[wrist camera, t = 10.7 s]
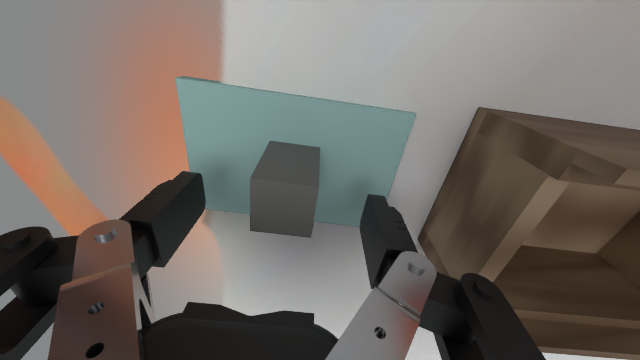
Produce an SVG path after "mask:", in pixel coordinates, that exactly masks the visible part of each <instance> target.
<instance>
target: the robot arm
mask: <svg viewBox="0 0 640 360" xmlns="http://www.w3.org/2000/svg"><path fill="white" fill-rule="evenodd" d="M205 204H206V199H205V191H204V184H203V177H202V175H201V174H200V173H195V172H186V171H182V172H181V173H180V174H179V175H178V176H176V177H175V178H174V179H173V180H168V181H167V182H164V183H162V184H160V185H158V186H157V187H156V188H154V189H153V190H152V191H151V192H150V194H148V195H147V196H145V197H144V199H143V200H141V201H140V202H138V203H137V204H136V205H135V206H134V207H133V208H132V209H130V210H129V211H128V212H127V213H126V214H125V215H124V216H122V217H121V218H120V219H119V220H108V221H104V222H100V223H97V224H95V225H93V226H91V227H89V228H87V229H86V230H84V231H83V232H82V233H81V234H80V235H79V236H70V237H60V238H53V237H52V235H51V233H50V232H49V230H48V229H46V228H44V227H26V228H21V229H17V230H14V231H11V232H8V233H5V234H3V235H1V236H0V296H1V295H2V294H3V293H5V292H6V291H7V290H8V289H9V288H10V289H11V290H12V291H13V292H14V293H15V295H16V297H15V298H14V299H13V300H12V301H11V302H10V303H9V304H7V305H6V306H5V307H4V308H3V309H2V310H1V311H0V360H20V359H21V358H22V357H23V356H24V355H25V354H26V353H27V352H28V351H29V349H30V348H31V347H32V346H33V345H34V344H35V343H36V342H37V341H38V339H39V338H40V337H41V336H42V335H43V334H44V333H45V332H46V330H47V329H48V328H49V327H50V326H51V324H53V323H54V325H53V331H52V337H51V343H50V349H49V355H48V360H405V357H406V355H407V352H408V350H409V348H410V345H411V343H412V340H413V338H414V335H415V333H416V330H417V328H418V326H420V327H422V328H424V329H427V330H429V331H431V332H433V333H434V336H435V340H436V343H437V346H438V349H439V352H440V355H441V358H442V360H546V359H545V358H544V356H543V355H542V353H541V352H540V350H539V348H538V347H537V345H536V344H535V342H534V341H533V339H532V338H531V336H530V335H529V333H528V331H527V330H526V328H525V327H524V325H523V324H522V322H521V321H520V319H519V318H518V316H517V315H516V313H515V311H514V310H513V308H512V307H511V305H510V304H509V302H508V301H507V299H506V298H505V296H504V294H503V293H502V292H501V290H500V289H499V288H498V287H497V286H496V285H495V284H494V283H493V282H491V281H490V280H488V279H487V278H485V277H483V276H481V275H478V274H475V273H465V274H463V275H462V277H461V278H460V280H458V279H455V278H452V277H450V276H447V275H444V274H441V273H439V272H437V271H436V269H435V267H434V265H433V264H432V263H431V262H430V261H429V260H428V259H427V258H426V257H424V256H423V255H421V254H419V253H418V251H417V249H416V247H415V245H414V242H413V240H412V238H411V236H410V233H409V231H408V230H407V227H406V224H404V220H403V218H402V215H401V214H400V213H399V212H398V211H397V210H396V209H395V208H394V207H389V206H388V203H387V201H386V198H385V196H382V195H373V194H368V196H367V199H366V202H365V206H364V209H363V213H362V216H361V220H360V233H361V238H362V243H363V249H364V254H365V259H366V264H367V270H368V275H369V280H370V285H371V289H373V290H372V292H371V293H370V294H369V296H368V297H367V299H366V300H365V302H364V303H363V305H362V306H361V308H360V309H359V311H358V312H357V314H356V315H355V317H354V318H353V319H352V321H351V322H350V324H349V325H348V327H347V328H346V330H345V331H344V333H343V334H342V336H341V337H340V339H337V338H336V337H335V336H334V335H333V334H332V333H330V332H329V331H328V330H326V329H324V328H323V327H321V326H319V325H316V324H314V313H304V312H293V311H279V312H273V313H267V314H261V315H255V316H248V315H245V314H242V313H240V312H237V311H235V310H232V309H229V308H227V307H224V306H222V305H216V304H205V303H194V302H188V303H187V305H186V307H185V309H184V311H183V313H178V314H174V315H171V316H168V317H165V318H162V319H160V320H158V321H156V319H155V314H154V308H153V301H152V295H151V289H150V283H149V277H148V273H147V272H148V271H149V269H150V268H151V267H152V266H154V267H165V266H166V264H167V263H168V261H169V260H170V259H171V257H172V256H173V254H174V253H175V251H176V250H177V248H178V247H179V246H180V244H181V243H182V242H183V240H184V239H185V237H186V236H187V234H188V233H189V232H190V230H191V229H192V227H193V226H194V224H195V223H196V222H197V220H198V219H199V217H200V216H201V215H202V213H203V211H204V209H205Z"/></svg>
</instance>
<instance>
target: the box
mask: <svg viewBox="0 0 640 360" xmlns="http://www.w3.org/2000/svg"><path fill="white" fill-rule="evenodd" d="M418 240H419V243H420V245H421V247H422V249H423V251H424V253H425V255H426V257H427V259H428V260H429V261H430V262H431V263H432V264H433V265H434V267H435V269H436V271H437V272H439V273H441V274H444V275H447V276H450V277H452V278H455V279H458V280H460V278H461V277H462V275H463V274H465V273H475V274H478V275H481V276H483V277H485V278H487V279H488V280H490V281H491V282H493V283H494V284H495V285H496V286H497V287H498V288H499V289H500V290H501V292H502V293H503V294H504V296H505V298H506V299H507V301H508V302H509V304H510V305H511V307H512V308H513V310H514V311H515V313H516V315H517V316H518V318H519V319H520V321H521V322H522V324H523V325H524V327H525V328H526V330H527V331H528V333H529V335H530V336H531V338H532V339H533V341H534V342H535V344H536V345H537V347H538V348H539V350H540V352H544V353H556V354H568V355H580V356H592V357H605V358H617V359H629V360H640V130H634V129H627V128H620V127H613V126H607V125H600V124H593V123H586V122H579V121H572V120H565V119H558V118H551V117H544V116H537V115H530V114H523V113H516V112H509V111H502V110H495V109H489V108H482V107H479V108H478V110H477V112H476V115H475V117H474V119H473V121H472V123H471V125H470V128H469V130H468V132H467V134H466V136H465V138H464V140H463V143H462V145H461V147H460V149H459V151H458V153H457V156H456V158H455V160H454V162H453V164H452V166H451V168H450V171H449V173H448V175H447V177H446V179H445V181H444V184H443V186H442V188H441V190H440V192H439V194H438V197H437V199H436V201H435V203H434V205H433V207H432V209H431V212H430V214H429V216H428V218H427V220H426V222H425V225H424V227H423V229H422V231H421V233H420V235H419V237H418Z"/></svg>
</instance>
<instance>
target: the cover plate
mask: <svg viewBox="0 0 640 360" xmlns="http://www.w3.org/2000/svg"><path fill="white" fill-rule="evenodd" d="M176 85H177V92H178V97H179V105H180V111H181V118H182V124H183V130H184V137H185V143H186V150H187V157H188V163H189V169H190V172H195V173H200V174H201V175H202V177H203V184H204V191H205V199H206V204H205V209H211V210H220V211H228V212H237V213H246V214H250V231H257V232H266V233H274V234H283V235H292V236H301V237H310V238H311V233H312V227H313V221H314V222H323V223H332V224H340V225H349V226H357V227H360V220H361V216H362V213H363V209H364V206H365V202H366V199H367V196H368V194H373V195H382V196H385V198H386V200H387V197H388V194H389V191H390V188H391V185H392V182H393V179H394V176H395V174H396V171H397V168H398V165H399V162H400V159H401V156H402V153H403V151H404V148H405V145H406V142H407V139H408V136H409V133H410V130H411V128H412V125H413V122H414V119H415V116H416V113H414V112H407V111H401V110H394V109H387V108H381V107H374V106H367V105H361V104H354V103H347V102H341V101H334V100H327V99H321V98H314V97H307V96H301V95H294V94H287V93H281V92H274V91H267V90H261V89H254V88H247V87H241V86H234V85H227V84H222V82H221V81H214V80H207V79H201V78H194V77H188V76H181V77H176Z"/></svg>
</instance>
